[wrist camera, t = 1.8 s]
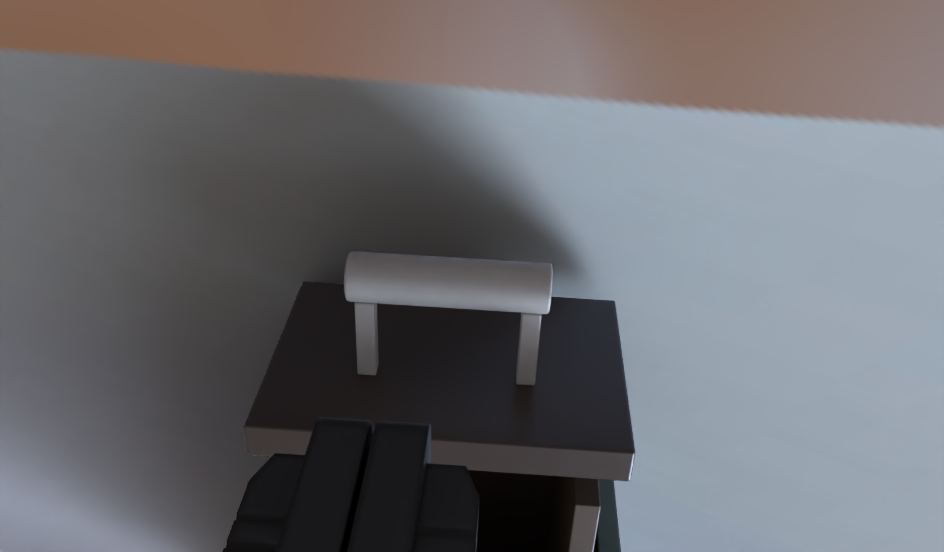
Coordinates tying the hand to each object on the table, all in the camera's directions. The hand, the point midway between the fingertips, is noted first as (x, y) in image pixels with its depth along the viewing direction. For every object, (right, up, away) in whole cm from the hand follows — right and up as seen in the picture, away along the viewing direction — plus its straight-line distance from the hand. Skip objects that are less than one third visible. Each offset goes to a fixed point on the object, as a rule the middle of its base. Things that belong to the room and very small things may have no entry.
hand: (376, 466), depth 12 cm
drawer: (+1, -2, +22) cm, 22 cm away
